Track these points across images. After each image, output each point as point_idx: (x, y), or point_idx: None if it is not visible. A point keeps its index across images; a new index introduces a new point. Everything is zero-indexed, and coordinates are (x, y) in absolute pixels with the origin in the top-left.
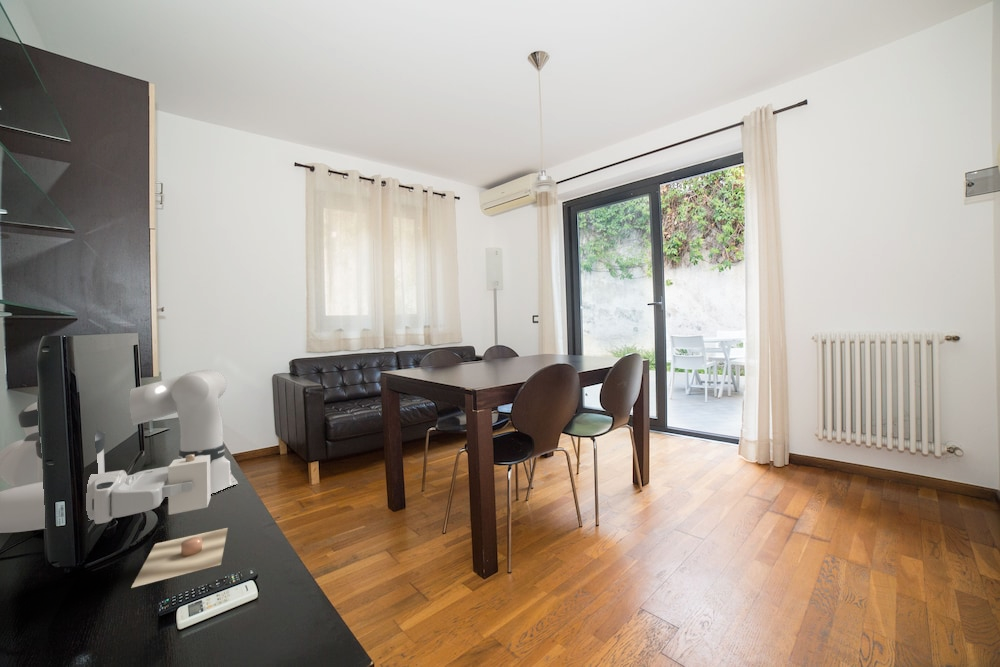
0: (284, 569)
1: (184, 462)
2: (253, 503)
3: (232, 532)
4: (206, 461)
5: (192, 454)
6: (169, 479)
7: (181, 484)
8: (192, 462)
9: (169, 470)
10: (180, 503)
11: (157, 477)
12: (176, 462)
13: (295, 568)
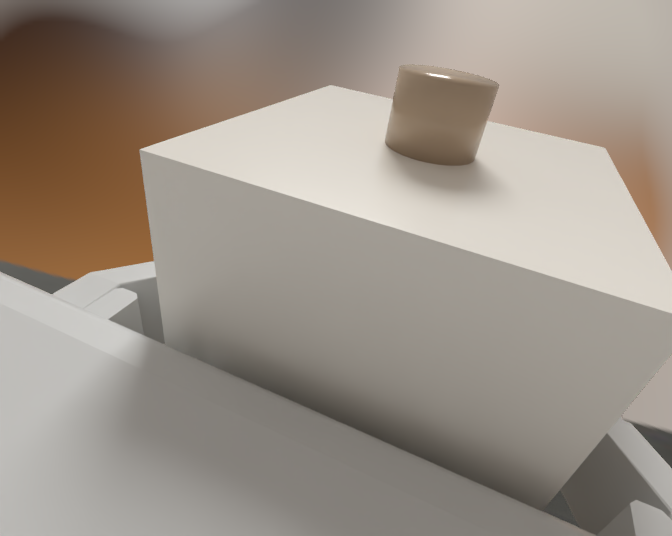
0: (655, 450)
1: (488, 180)
2: (73, 281)
3: None
4: (601, 147)
5: (433, 68)
6: (573, 461)
7: (627, 427)
8: (562, 170)
9: (644, 362)
10: None
11: (238, 524)
12: (389, 193)
13: (663, 433)
